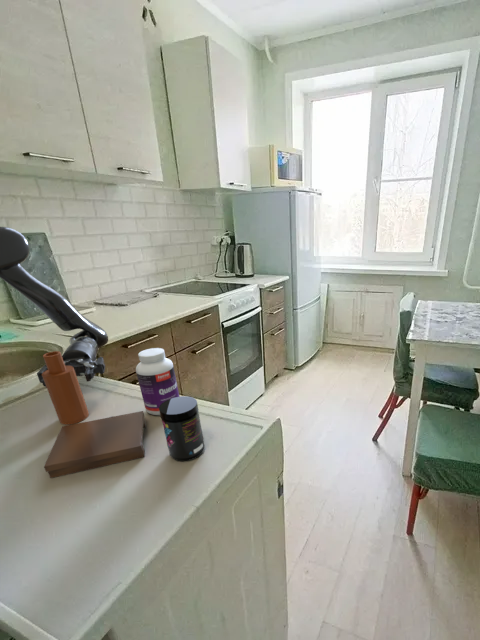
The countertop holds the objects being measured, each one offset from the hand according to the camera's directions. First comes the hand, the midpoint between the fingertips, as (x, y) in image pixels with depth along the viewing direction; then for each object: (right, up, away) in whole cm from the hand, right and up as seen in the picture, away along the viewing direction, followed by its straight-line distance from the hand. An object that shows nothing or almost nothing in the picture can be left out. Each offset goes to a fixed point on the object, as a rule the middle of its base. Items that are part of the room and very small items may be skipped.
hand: (67, 380), depth 82 cm
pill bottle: (+22, -7, +2) cm, 23 cm away
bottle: (+2, -9, 0) cm, 9 cm away
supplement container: (+32, -14, -14) cm, 38 cm away
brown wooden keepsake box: (+14, -14, -11) cm, 23 cm away
